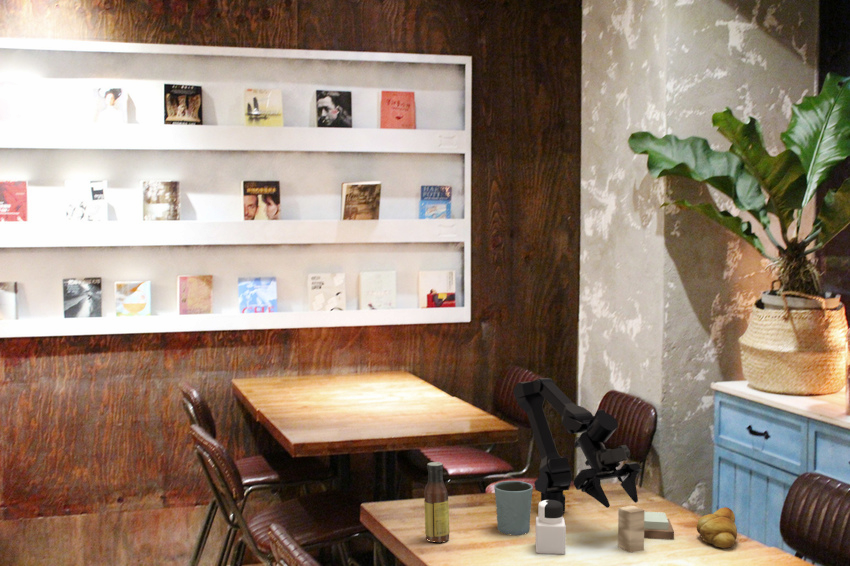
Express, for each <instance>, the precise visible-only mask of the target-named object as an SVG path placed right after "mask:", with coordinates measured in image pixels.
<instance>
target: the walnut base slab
mask: <svg viewBox="0 0 850 566" xmlns="http://www.w3.org/2000/svg"><path fill="white" fill-rule="evenodd" d="M667 519H668V522H669V530H658V529H644V539H659V540H675V530H674V528H673V525H672V523H671V520H670V518H667Z"/></svg>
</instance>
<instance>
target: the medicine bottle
mask: <svg viewBox="0 0 850 566" xmlns="http://www.w3.org/2000/svg"><path fill="white" fill-rule="evenodd" d="M537 509H538V511H537V512H538V516H535V551H536V554H544V555H545V554H546V555H547V554H548V555H565V554H566V545H567V543H566V541H567V540H566V537H567V535H566V534H567V533H566V529H567V527H566V523H565V522H566V521H565V518H564V517H563V516H564V511H563V505H562V503H561V502H559V501H556V500H544V501H541V500H540V501H539V503H538V508H537Z"/></svg>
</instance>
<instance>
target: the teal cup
mask: <svg viewBox="0 0 850 566" xmlns="http://www.w3.org/2000/svg"><path fill="white" fill-rule="evenodd" d="M493 488H494V496H495V497H494V499H495V507H496V508H495V509H496V523H497V524H496V525H497V531H498V530H499V531H500V532H499V531H498V532H499V533H501V532H502V533H501V534H503V533H505V534H504V535H507V534H511V535H510V536H522V535H521V534H523V535H525V533H526V534H528V533H529V532H530V529H531V524H530V523H531V513H532V512H531V509H532V502H533V501H532V500H533V499H532V498H533V491H534V490H533V489H534V487H533V485H532V484H531V483H529V482H525V481H522V480H521V481H520V480H505V481H498V482H496V483H495V484H494V486H493Z"/></svg>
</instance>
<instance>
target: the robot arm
mask: <svg viewBox="0 0 850 566" xmlns="http://www.w3.org/2000/svg"><path fill="white" fill-rule="evenodd" d="M513 396H514V398H515V401H516V403H517V406H519V407H520V408H521V410H523V411H524V412H525V413H526V414H527V418H528V421H529V425H530V427H531V431H532V433H533V438H534V440H535V444H536V447H537V449H538V451H539V456H540V459H541V461H540V464H539V470H538V471H539V476H538V477H537V478H536V480H535V481H534V488H535V491H537V492H538V493H540V502H541V501H544V500H556V501H559V502H561V503H562V505H563V512H565V511H566V495H565V494H564V491H569V490H570V487H571V483H572V479H573V485H574V487H575V489H576V490H577V491H579V490H581V492H582V493H586V494H587V495H588V496H591V497H592V498H593V499H594V500H596V501H597V502H598V503H600V504H601V505H603V506H604V507H605V508H607V509H608V508H610V506H611V504H610V502H609V499H608V497H607V495H606V493H605V492H604V490H603V487H602V484H601V481H603V480H610V479H615V478H617V480H618V481H619V482H620V486H621V487H622V489H623V490H624V491H625V493H626V494H627V495H628V496H629V498H630V499H631V501H632V502H634V503H635V504H636V503H638V502H639V497H638V491H637V486H636V485H637V482H636V480H637V477H638V476H639V475H640V473H641V472H642V467H641V466H640V464H639V462H636V461H633V462H632V461H631V462H626V463H624V464H623V465H622V466H621V467H620V468H619V469H617V468H618V467H619V466H620V465H621V464H620V462H625V461H628V458H629V457H631V451H630V448H629V447H628V445H627V444H621V445H619V446H617V448H613V449H610V448H606V447H605V445H604V443H606V442H607V441H608V440H609V439H610V437H611V436H612V435H613V433H615V431H616V430H617V429H618V427H619V424H618V420H617V419H616V418H615V417H614V416H612V414H610V413H607V412H606V411H605V409H597V411H596V412H595V413H594V415H593V414H592V412H591V411H589V410H588V409H587V408H585V407H583V406H582V405H577V404H575V403H574V402H573V401H572V400H571V399H570V398H569V397H568V396H567V395H566V394H565V393H564V392H563V391H562V390H561V389H560V388H559V386H557V385H556V383H555V382H554V380H553V379H552V378H550V377H544V378H543V377H542V378H537V379H535V380H532V381H521V382H519V381H518V382H517V383H516V384H515V386H514V387H513ZM545 401H546V402H547V403H548V404H550V406H551V407H552V408H553V410H555V411H556V412H557V413H558V415H559V416H560V417H561V424H562V426H563V427H564V428H565V430H566V431H567V432H568V433H569V434H571V435H574V434H575V435H576V434H580V435H579V436H577V437H575V441H574V445H573V447H574V448H580V450H582V453H583V455H584V456H585V460H586V461H584V464H585V466H586V467H588V466H589V467H590V468H585V469H581V470H580V471H579V472H578V473H577V475H576V476H575V477H574V478H572V477H573V474H572V468H571V466H570V463H569V459H568V458H567V456H561V455H560V454H559V452H558V449H557V447H556V443H555V440H554V437H553V434H552V431H551V429H550V425H549V422H548V420H547V417H546V413H545V410H544V407H543V406H544V403H545Z"/></svg>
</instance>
